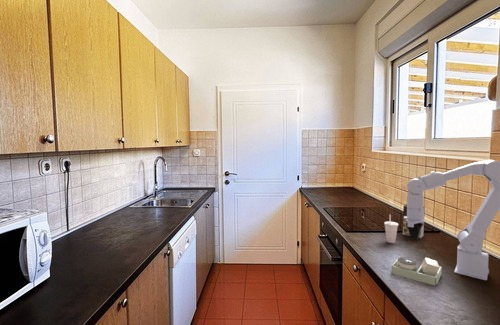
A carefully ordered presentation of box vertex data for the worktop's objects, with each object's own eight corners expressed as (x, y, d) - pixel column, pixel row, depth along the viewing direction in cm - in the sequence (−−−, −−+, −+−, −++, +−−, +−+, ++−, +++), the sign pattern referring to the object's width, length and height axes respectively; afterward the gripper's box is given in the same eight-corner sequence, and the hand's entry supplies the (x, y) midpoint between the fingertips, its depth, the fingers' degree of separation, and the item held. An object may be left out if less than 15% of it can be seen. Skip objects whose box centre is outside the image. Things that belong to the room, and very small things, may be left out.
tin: (419, 272, 106) (419, 260, 106) (414, 278, 102) (414, 265, 101) (400, 267, 111) (400, 255, 111) (395, 272, 106) (395, 260, 106)
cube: (433, 269, 103) (436, 261, 102) (435, 276, 100) (439, 267, 98) (421, 265, 105) (424, 257, 103) (423, 272, 101) (427, 263, 100)
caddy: (441, 274, 104) (441, 266, 103) (436, 286, 96) (436, 277, 95) (399, 263, 114) (399, 256, 113) (391, 273, 106) (391, 265, 105)
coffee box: (402, 234, 148) (402, 205, 147) (405, 231, 153) (405, 203, 152) (421, 238, 142) (422, 208, 141) (424, 235, 146) (424, 206, 145)
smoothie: (385, 238, 143) (386, 212, 142) (399, 241, 139) (399, 214, 138) (382, 242, 138) (382, 215, 137) (396, 245, 134) (397, 217, 133)
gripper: (408, 203, 120) (407, 233, 121) (399, 209, 110) (398, 242, 111) (427, 205, 115) (426, 236, 116) (419, 212, 105) (418, 246, 106)
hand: (414, 240), depth 113 cm, fingers closed
